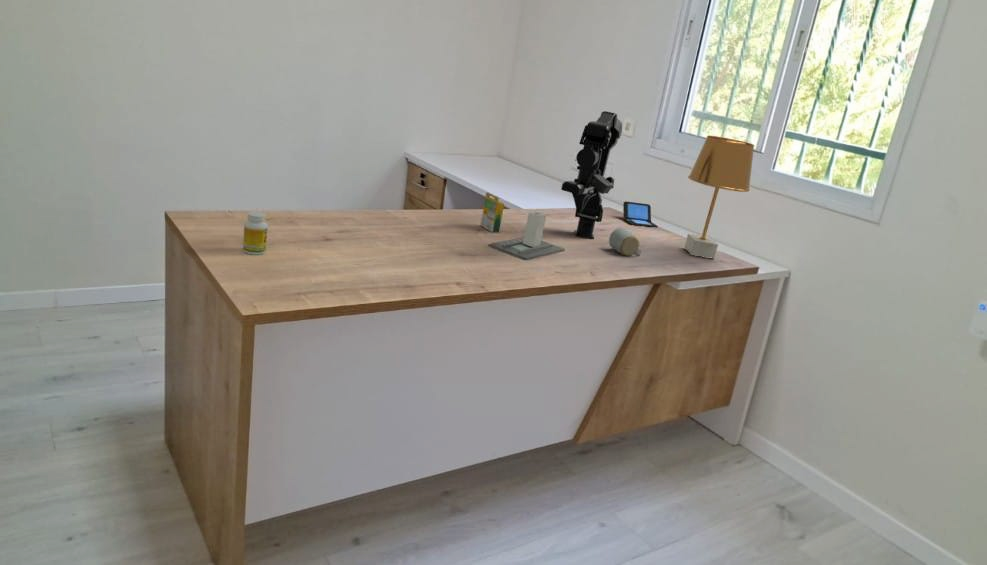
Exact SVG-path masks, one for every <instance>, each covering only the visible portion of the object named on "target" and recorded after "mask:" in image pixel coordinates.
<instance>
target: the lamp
mask: <svg viewBox="0 0 987 565" xmlns="http://www.w3.org/2000/svg"><path fill="white" fill-rule="evenodd" d="M754 149H755V144H753V143H749V142H746V141H742V140H738V139H733V138H729V137H723V136H716V135H707V136H706V139H705V141H704V143H703V145H702V148H701V149H700V151H699V154H698V156H697V158H696V160H695V162H694V165H693V167H692V169H691V172H690V173H689V175H688V176H687V178H688V180H691V181H693V182H695V183H698V184H701V185H705V186H708V187H712V188H714V192H713V194H712V199H711V202H710V206H709V208H708V213H707V217H706V219H705V223H704V227H703V231H702V234H701V235H697V234H691V233H687V236H686V240H685V243H684V247H685V248H686V250H687V251H688V252H689V253H690V254H691V255H697V256H704V257H712V258H714V259H715V256H716V254H717V249H718V245H719V244H718V243H717V242H716V240H714V239H713V238H712V237H709V236H707V233H708V229H709V225H710V221H711V219H712V215H713V211H714V208H715V203H716V201H717V197H718V193H719V190H720V189H721V190H726V191H731V192H738V193H739V192H740V193H741V192H742V193H747V192H749V191H750V184H751V175H752V168H753V167H752V166H753V158H754ZM686 250H685V251H686ZM687 251H686V252H687ZM688 252H687V253H688ZM689 253H688V254H689ZM690 254H689V255H690ZM691 255H690V256H691Z"/></svg>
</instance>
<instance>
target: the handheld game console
mask: <svg viewBox="0 0 987 565" xmlns="http://www.w3.org/2000/svg"><path fill="white" fill-rule="evenodd" d="M622 204H623V205H622V206H623V219H622V221H624V222H625V223H626V222H627V223H626V224H628V225H629V224H630V225H629V226H632V225H634V226H633V227H641V226H645V227H644V228H650V227H658V228H659V226H658V224H655V223H654V222H652V217H651V216H652V210H651V209H652V207H651V205H650V204H647V203H641V202H633V201H626V200H625V201H624V202H623V203H622Z"/></svg>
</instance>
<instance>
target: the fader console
mask: <svg viewBox="0 0 987 565" xmlns="http://www.w3.org/2000/svg"><path fill="white" fill-rule="evenodd" d="M523 239H524V236H522V237H518V238H513V239H508V240H500V241H497V242H493V243H489V244H488V245H487V246H488V247H491V248H493V249H496V250H498V251H501V252H503V253H506V254H509V255H511V256H514V257H517V258H519V259H523V260H524V261H527V260H528V261H529V260H533V259H536V258H540V257H544V256H548V255H551V254H556V253H560V252H564V251H565V250H566V249H565V248H563V247H561V246H557V245H555V244H552V243H549V242H547V241H544V240H543V239H541V244H540V246H537V247H531V246H528V245H526V244H523Z"/></svg>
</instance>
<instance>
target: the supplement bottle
mask: <svg viewBox="0 0 987 565" xmlns="http://www.w3.org/2000/svg"><path fill="white" fill-rule="evenodd" d="M246 218H247V220H246V221H245V222H244V223H243V235H242V236H243V237H242V252H244V253H246V254H248V255H251V256H253V255H254V256H256V255H257V256H258V255H259V256H260V255H263V254H265V253H266V252H267V251H266V250H267V237H268V224H267V222H266V214H265V213H264V212H262V211H261V212H260V211H249V212H248V213H247V217H246Z"/></svg>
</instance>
